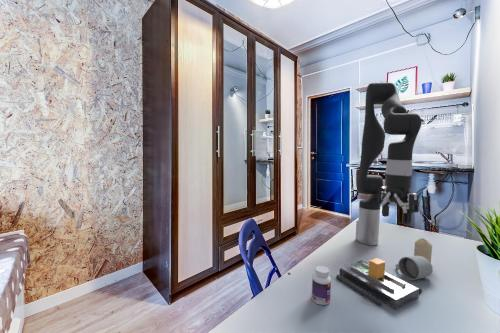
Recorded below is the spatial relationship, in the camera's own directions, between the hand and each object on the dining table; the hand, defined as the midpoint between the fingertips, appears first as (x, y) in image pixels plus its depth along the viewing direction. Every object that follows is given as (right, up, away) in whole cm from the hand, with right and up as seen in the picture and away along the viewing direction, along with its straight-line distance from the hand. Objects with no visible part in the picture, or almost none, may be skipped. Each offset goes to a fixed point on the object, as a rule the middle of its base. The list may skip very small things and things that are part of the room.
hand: (395, 219), depth 80 cm
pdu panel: (-8, -22, -2) cm, 23 cm away
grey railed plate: (-8, -22, -2) cm, 23 cm away
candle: (+19, -21, +14) cm, 32 cm away
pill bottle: (-29, -22, -9) cm, 38 cm away
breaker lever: (-8, -19, -2) cm, 20 cm away
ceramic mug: (+9, -22, +5) cm, 24 cm away
